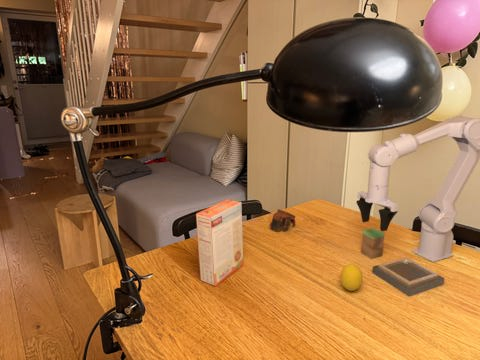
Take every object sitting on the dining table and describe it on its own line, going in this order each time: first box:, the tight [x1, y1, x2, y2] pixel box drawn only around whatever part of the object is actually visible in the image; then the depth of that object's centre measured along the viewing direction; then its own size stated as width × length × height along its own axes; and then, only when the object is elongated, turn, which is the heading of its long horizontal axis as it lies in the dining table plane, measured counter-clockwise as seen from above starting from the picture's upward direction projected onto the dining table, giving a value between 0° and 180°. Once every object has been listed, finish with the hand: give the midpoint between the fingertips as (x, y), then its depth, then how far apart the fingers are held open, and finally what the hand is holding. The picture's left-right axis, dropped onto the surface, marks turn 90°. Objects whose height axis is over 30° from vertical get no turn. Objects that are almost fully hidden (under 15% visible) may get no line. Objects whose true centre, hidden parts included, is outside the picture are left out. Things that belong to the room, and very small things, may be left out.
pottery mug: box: [269, 209, 296, 233], centre depth 132 cm, size 12×10×8 cm
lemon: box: [339, 263, 363, 292], centre depth 91 cm, size 6×6×8 cm
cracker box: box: [195, 198, 244, 287], centre depth 99 cm, size 14×6×21 cm, turn 145°
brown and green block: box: [360, 227, 385, 260], centre depth 111 cm, size 4×4×8 cm
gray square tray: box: [371, 256, 445, 297], centre depth 97 cm, size 13×13×3 cm
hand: (374, 225), depth 108 cm, fingers open, 7 cm apart
